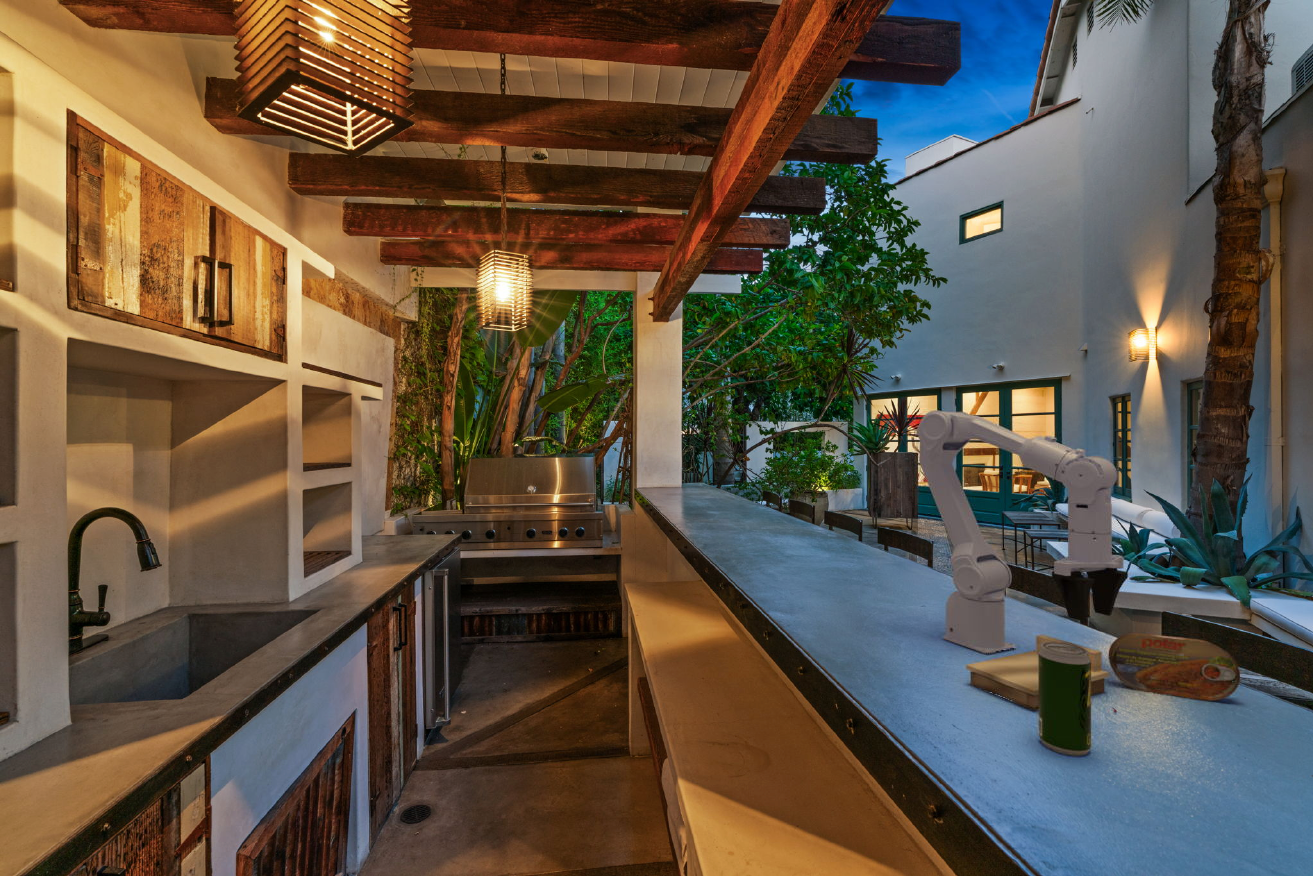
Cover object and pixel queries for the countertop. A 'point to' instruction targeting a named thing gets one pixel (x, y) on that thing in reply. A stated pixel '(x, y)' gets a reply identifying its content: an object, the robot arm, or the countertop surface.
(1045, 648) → the beer can
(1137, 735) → the countertop surface
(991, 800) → the countertop surface
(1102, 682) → the box
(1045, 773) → the countertop surface
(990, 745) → the countertop surface
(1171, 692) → the tin
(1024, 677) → the cover plate
